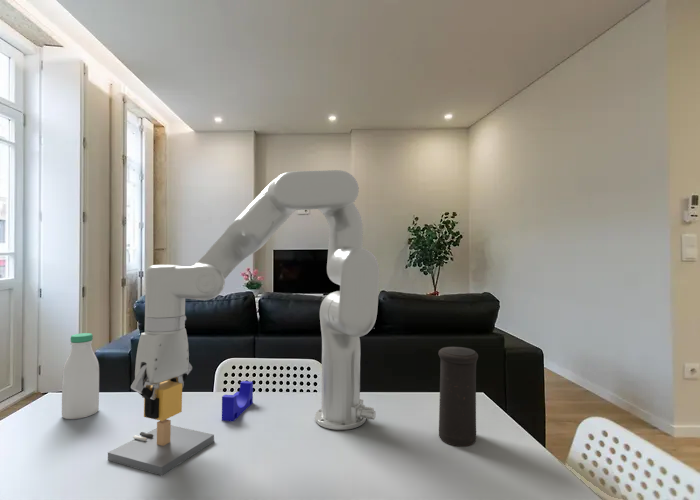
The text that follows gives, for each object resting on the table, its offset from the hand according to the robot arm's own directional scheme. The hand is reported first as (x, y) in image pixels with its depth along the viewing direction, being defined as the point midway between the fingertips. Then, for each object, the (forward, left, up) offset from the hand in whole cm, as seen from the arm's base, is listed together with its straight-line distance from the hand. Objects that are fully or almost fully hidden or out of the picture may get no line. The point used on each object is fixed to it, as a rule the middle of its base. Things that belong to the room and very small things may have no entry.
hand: (163, 411), depth 81 cm
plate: (0, 0, -8) cm, 8 cm away
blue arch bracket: (-1, -23, -9) cm, 24 cm away
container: (-56, -29, -8) cm, 64 cm away
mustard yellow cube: (0, 0, -1) cm, 1 cm away
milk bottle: (+34, -6, -8) cm, 35 cm away
